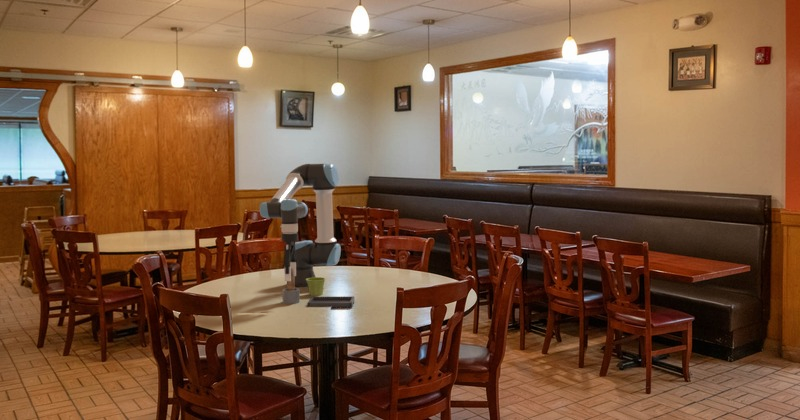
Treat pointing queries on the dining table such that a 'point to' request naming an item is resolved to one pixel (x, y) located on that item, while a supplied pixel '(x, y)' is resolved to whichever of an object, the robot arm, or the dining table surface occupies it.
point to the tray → (332, 302)
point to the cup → (291, 296)
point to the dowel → (291, 283)
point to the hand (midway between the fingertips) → (290, 278)
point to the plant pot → (315, 285)
